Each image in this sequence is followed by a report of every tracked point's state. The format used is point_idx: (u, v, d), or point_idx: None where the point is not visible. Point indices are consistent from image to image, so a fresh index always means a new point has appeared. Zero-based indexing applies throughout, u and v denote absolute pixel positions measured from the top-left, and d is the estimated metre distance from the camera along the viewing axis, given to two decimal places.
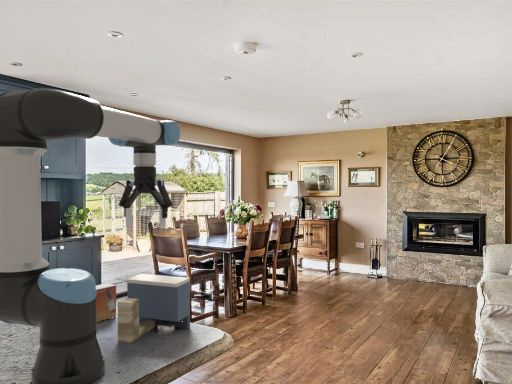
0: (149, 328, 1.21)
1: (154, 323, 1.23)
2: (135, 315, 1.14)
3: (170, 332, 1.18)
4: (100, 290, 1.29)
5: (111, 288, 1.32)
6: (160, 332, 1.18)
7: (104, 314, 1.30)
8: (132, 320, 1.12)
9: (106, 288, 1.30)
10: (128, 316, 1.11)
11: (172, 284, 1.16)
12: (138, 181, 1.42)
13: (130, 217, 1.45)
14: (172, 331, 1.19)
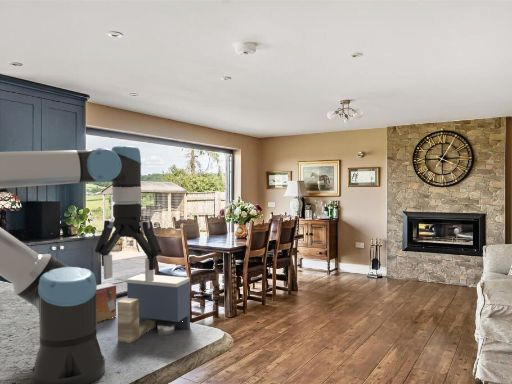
0: (149, 328, 1.21)
1: (154, 323, 1.23)
2: (135, 315, 1.14)
3: (170, 332, 1.18)
4: (100, 290, 1.28)
5: (111, 288, 1.32)
6: (160, 332, 1.18)
7: (104, 314, 1.30)
8: (132, 320, 1.12)
9: (106, 288, 1.30)
10: (128, 316, 1.11)
11: (172, 284, 1.16)
12: (119, 222, 1.13)
13: (109, 266, 1.16)
14: (172, 331, 1.19)
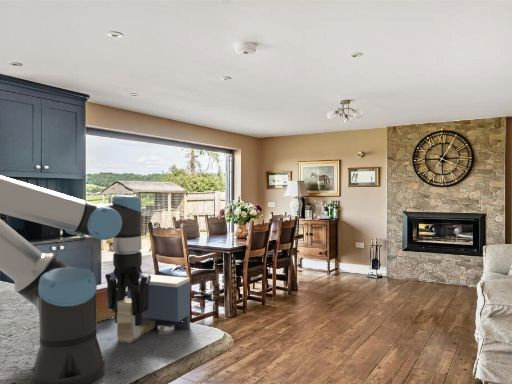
0: (149, 328, 1.21)
1: (154, 323, 1.23)
2: None
3: (170, 332, 1.18)
4: (100, 290, 1.29)
5: None
6: (160, 332, 1.18)
7: (104, 314, 1.30)
8: None
9: (106, 288, 1.30)
10: (128, 316, 1.11)
11: (172, 284, 1.16)
12: (118, 269, 1.13)
13: None
14: (172, 331, 1.19)
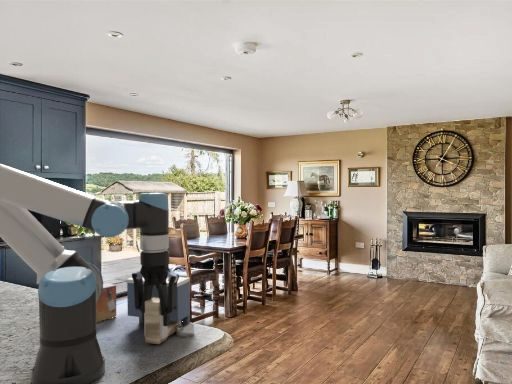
0: (175, 328, 1.18)
1: (180, 323, 1.20)
2: None
3: (189, 334, 1.16)
4: None
5: (111, 288, 1.32)
6: (179, 334, 1.16)
7: (104, 314, 1.30)
8: None
9: (106, 288, 1.30)
10: (156, 317, 1.08)
11: None
12: (145, 268, 1.10)
13: None
14: (191, 333, 1.17)
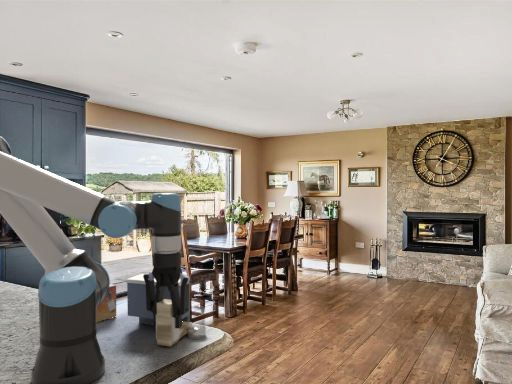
0: (187, 330, 1.17)
1: (191, 325, 1.19)
2: None
3: (201, 336, 1.15)
4: None
5: (111, 288, 1.32)
6: (191, 336, 1.15)
7: (104, 314, 1.30)
8: None
9: None
10: (168, 318, 1.07)
11: None
12: (157, 269, 1.09)
13: None
14: (203, 335, 1.16)
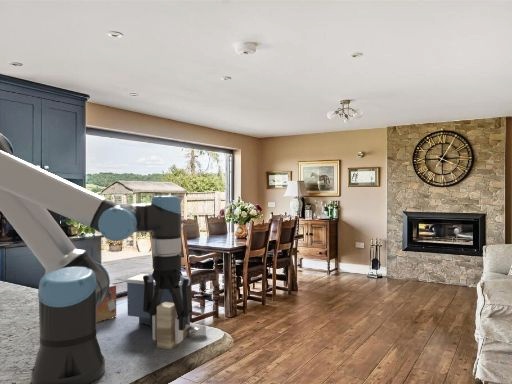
0: (187, 333, 1.17)
1: None
2: None
3: (202, 336, 1.15)
4: None
5: (111, 288, 1.32)
6: (192, 336, 1.15)
7: (104, 314, 1.30)
8: (172, 326, 1.08)
9: None
10: (168, 321, 1.07)
11: None
12: (157, 272, 1.09)
13: None
14: (204, 335, 1.16)
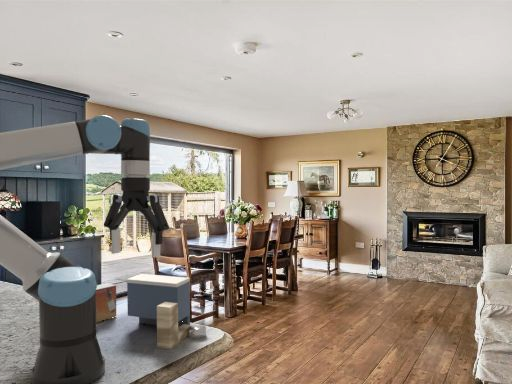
0: (187, 333, 1.17)
1: None
2: (175, 320, 1.09)
3: (202, 336, 1.15)
4: (100, 290, 1.29)
5: (111, 288, 1.32)
6: (192, 336, 1.15)
7: (104, 314, 1.30)
8: (172, 326, 1.08)
9: (106, 288, 1.30)
10: (168, 321, 1.07)
11: (172, 284, 1.16)
12: (127, 196, 1.12)
13: (117, 241, 1.15)
14: (204, 335, 1.15)
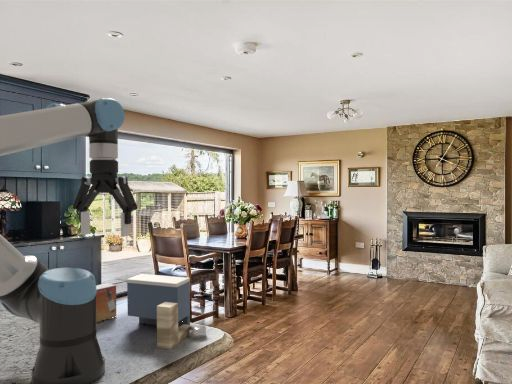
0: (187, 333, 1.17)
1: None
2: (175, 320, 1.09)
3: (202, 336, 1.15)
4: (100, 290, 1.29)
5: (111, 288, 1.32)
6: (192, 336, 1.15)
7: (104, 314, 1.30)
8: (172, 326, 1.08)
9: (106, 288, 1.30)
10: (168, 321, 1.07)
11: (172, 284, 1.16)
12: (95, 178, 1.15)
13: (87, 223, 1.18)
14: (204, 335, 1.15)
